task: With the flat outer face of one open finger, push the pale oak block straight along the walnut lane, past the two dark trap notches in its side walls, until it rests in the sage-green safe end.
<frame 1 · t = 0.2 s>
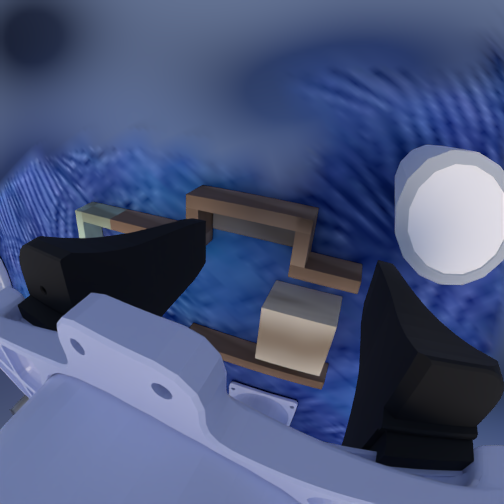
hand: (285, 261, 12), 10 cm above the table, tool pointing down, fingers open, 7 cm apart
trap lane: (211, 289, 28), on the table
oak block: (303, 313, 26), on the table
milk frother: (38, 384, 75), on the table
white tapered cup: (432, 185, 18), on the table
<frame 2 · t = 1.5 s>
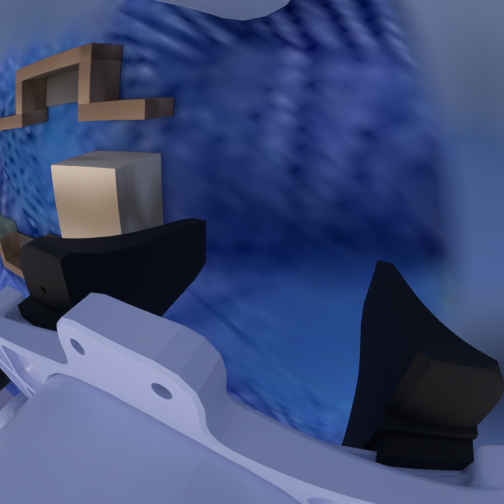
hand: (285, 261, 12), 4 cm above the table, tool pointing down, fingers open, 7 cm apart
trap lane: (52, 182, 20), on the table
oak block: (129, 193, 18), on the table
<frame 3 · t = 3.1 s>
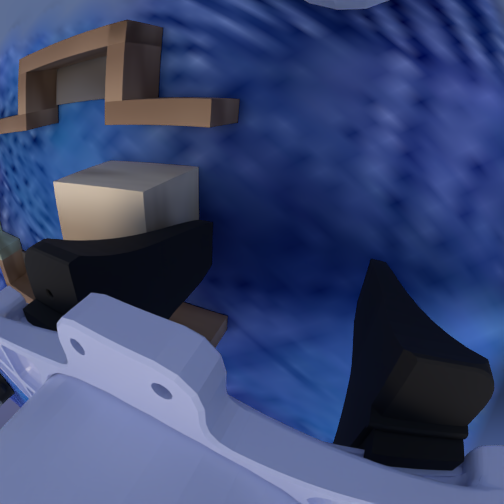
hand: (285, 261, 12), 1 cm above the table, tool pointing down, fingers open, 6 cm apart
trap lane: (64, 197, 17), on the table
oak block: (152, 214, 15), on the table, touching gripper
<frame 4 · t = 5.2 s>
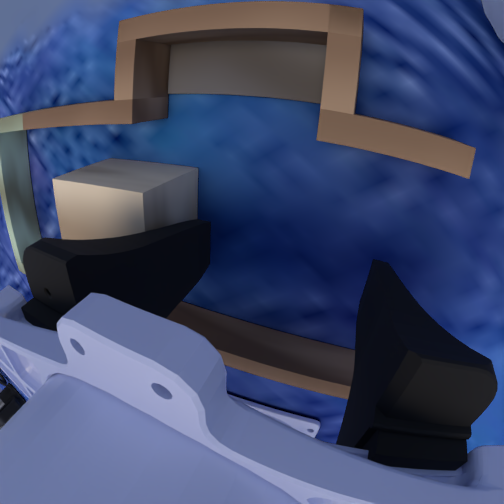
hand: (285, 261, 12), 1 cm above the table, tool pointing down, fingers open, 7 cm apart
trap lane: (167, 218, 15), on the table
oak block: (151, 213, 15), on the table, touching gripper
milk frother: (11, 384, 62), on the table
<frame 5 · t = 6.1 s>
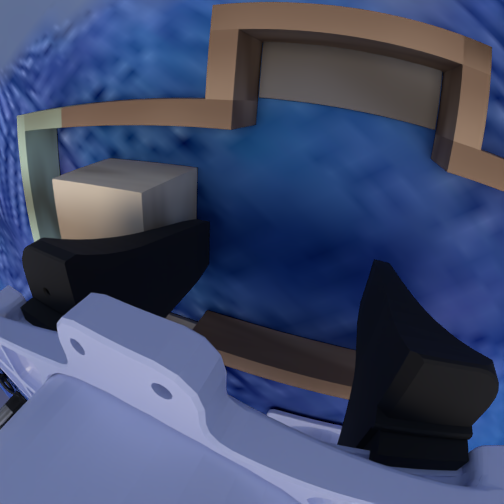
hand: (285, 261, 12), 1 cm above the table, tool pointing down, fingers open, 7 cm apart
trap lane: (246, 236, 14), on the table
oak block: (150, 213, 15), on the table, touching gripper
milk frother: (19, 392, 61), on the table
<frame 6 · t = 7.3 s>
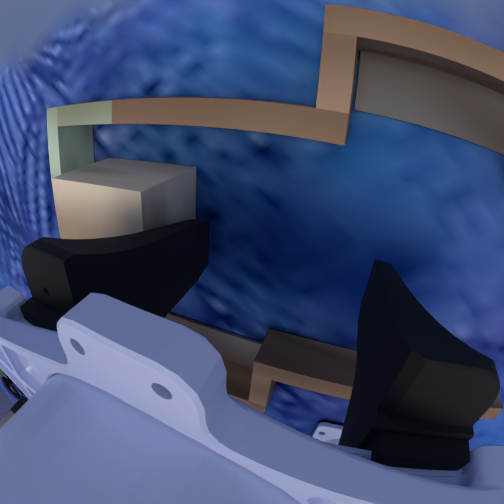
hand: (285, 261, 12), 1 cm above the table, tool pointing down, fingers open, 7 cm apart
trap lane: (326, 254, 13), on the table
oak block: (149, 213, 15), on the table, touching gripper
plant pot: (2, 354, 48), on the table
milk frother: (25, 397, 60), on the table
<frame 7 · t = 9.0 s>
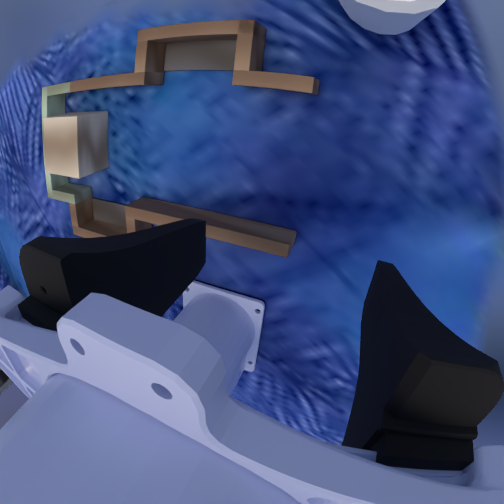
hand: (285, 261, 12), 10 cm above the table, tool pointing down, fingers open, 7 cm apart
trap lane: (160, 143, 23), on the table
oak block: (90, 138, 26), on the table
milk frother: (12, 348, 70), on the table
white tapered cup: (381, 0, 14), on the table
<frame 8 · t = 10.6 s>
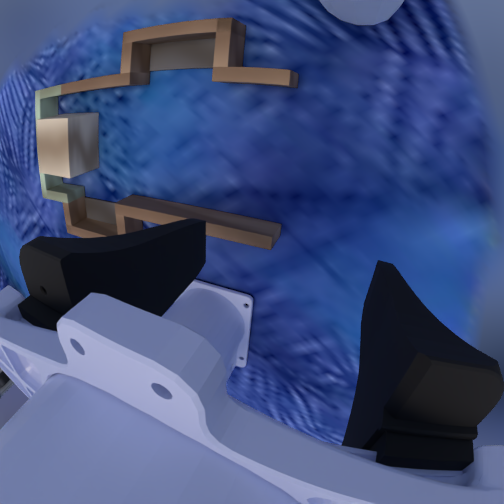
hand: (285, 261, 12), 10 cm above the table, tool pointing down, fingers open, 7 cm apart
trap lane: (147, 142, 24), on the table
oak block: (82, 138, 26), on the table
milk frother: (13, 350, 71), on the table
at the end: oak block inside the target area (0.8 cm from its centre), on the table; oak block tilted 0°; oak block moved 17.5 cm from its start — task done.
